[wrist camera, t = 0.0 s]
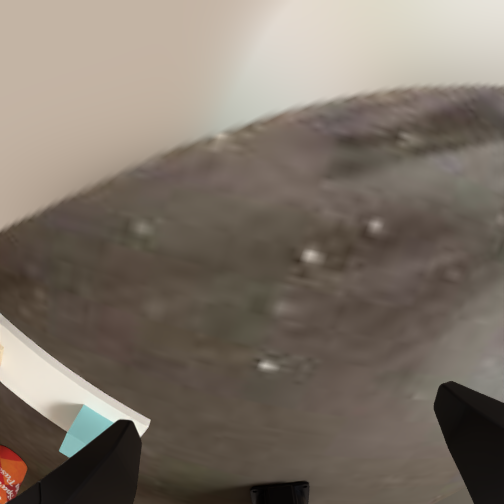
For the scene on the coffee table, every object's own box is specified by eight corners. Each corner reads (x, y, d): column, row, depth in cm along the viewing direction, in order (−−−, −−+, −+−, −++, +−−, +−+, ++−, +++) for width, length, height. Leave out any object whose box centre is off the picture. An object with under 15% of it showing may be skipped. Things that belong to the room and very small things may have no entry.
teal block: (121, 427, 25) (108, 457, 21) (108, 445, 25) (96, 473, 21) (83, 404, 24) (67, 432, 20) (73, 424, 25) (59, 451, 21)
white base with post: (150, 420, 25) (109, 558, 11) (122, 456, 27) (84, 568, 12) (-14, 299, 22) (-119, 375, 8) (-22, 352, 24) (-101, 427, 9)
